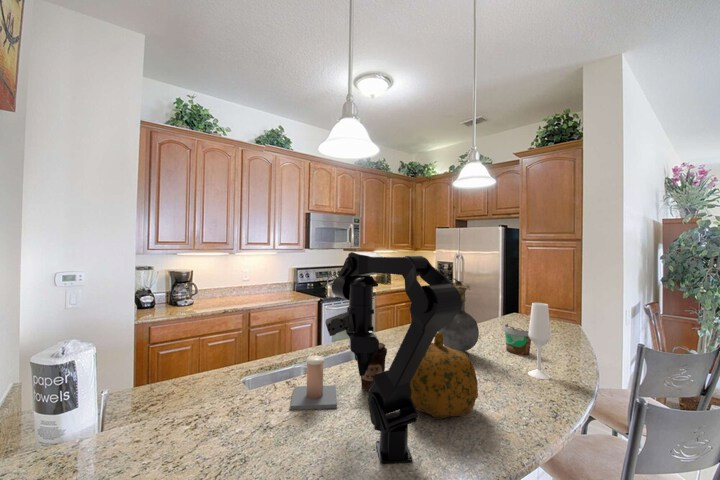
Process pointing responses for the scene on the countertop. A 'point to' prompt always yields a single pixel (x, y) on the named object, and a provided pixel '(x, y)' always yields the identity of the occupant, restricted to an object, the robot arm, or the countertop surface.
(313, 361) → the terracotta canister
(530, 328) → the champagne flute
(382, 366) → the coffee cup
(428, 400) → the decorative pumpkin
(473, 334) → the pitcher
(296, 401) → the mat
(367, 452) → the countertop surface
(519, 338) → the food container
